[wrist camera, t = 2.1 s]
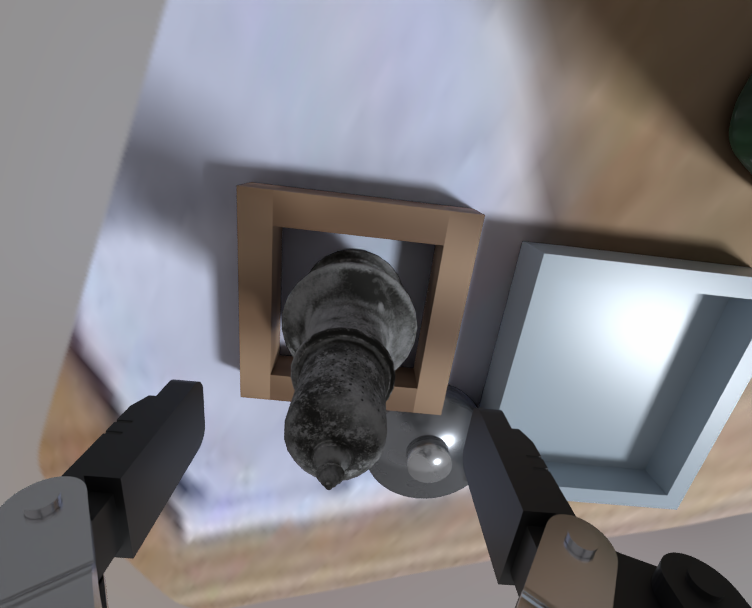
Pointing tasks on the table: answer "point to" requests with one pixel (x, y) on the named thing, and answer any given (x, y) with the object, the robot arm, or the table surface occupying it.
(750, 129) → the coffee jar
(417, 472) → the grey knobbed lid
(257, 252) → the wooden square frame
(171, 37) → the table surface
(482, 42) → the table surface
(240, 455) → the table surface
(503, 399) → the tray
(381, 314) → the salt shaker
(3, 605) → the robot arm
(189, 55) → the table surface
